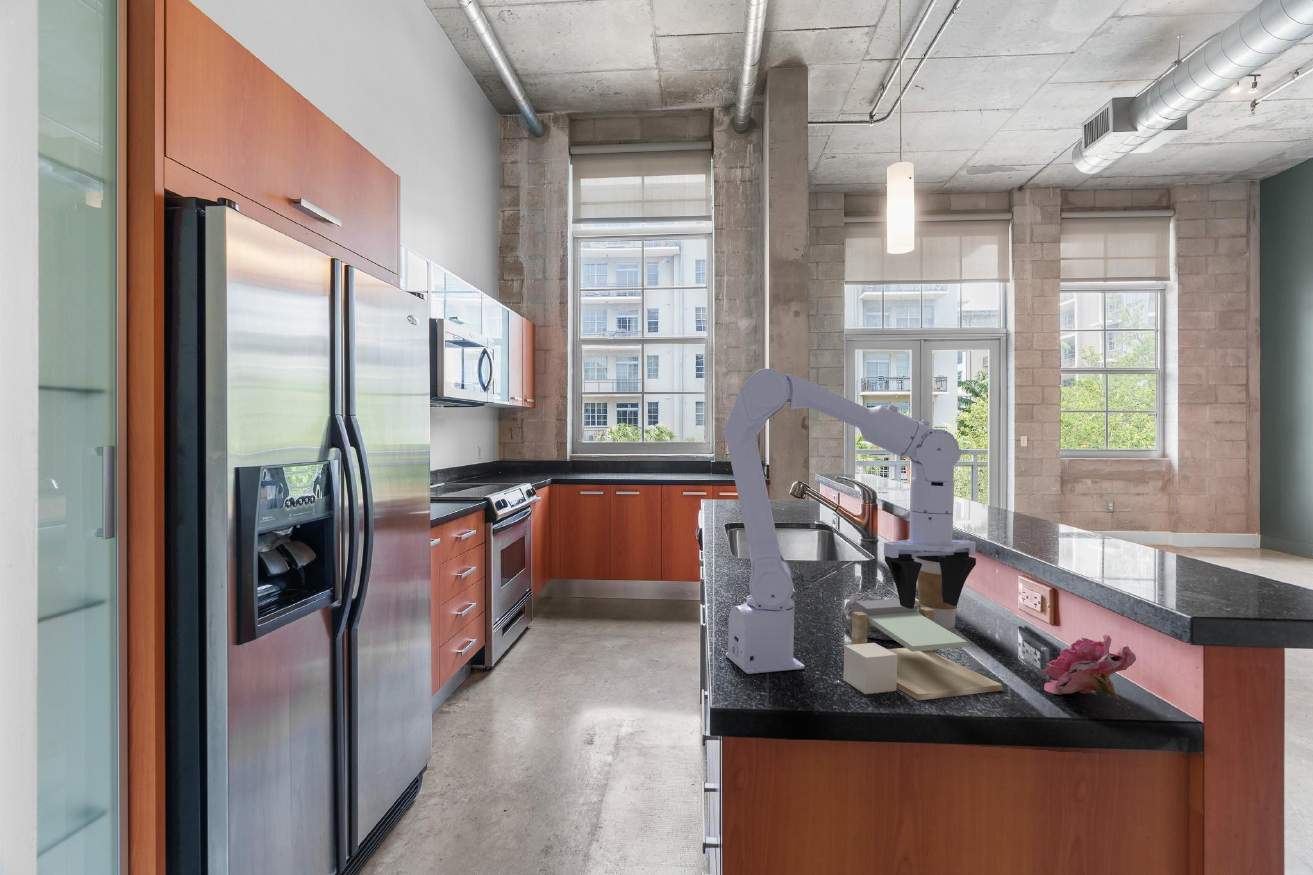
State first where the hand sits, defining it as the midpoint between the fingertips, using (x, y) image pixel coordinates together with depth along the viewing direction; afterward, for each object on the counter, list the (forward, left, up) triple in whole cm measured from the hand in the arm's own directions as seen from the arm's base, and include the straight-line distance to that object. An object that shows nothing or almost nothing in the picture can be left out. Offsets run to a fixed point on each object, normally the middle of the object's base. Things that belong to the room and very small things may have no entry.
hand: (928, 605), depth 90 cm
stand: (0, +2, -10) cm, 11 cm away
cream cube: (-10, 0, -10) cm, 15 cm away
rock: (+7, +19, -11) cm, 23 cm away
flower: (+17, -11, -11) cm, 22 cm away
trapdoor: (0, +4, -6) cm, 7 cm away
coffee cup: (+21, +22, -11) cm, 32 cm away
